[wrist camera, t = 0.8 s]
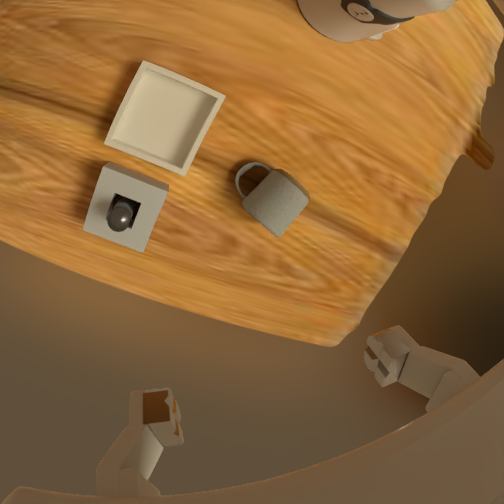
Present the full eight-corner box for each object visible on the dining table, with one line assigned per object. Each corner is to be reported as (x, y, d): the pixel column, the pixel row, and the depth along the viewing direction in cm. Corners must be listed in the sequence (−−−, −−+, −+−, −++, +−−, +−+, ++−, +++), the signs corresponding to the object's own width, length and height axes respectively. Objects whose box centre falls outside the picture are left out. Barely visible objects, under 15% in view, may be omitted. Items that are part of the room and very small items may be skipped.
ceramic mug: (302, 190, 49) (321, 204, 42) (269, 226, 50) (283, 245, 44) (256, 147, 44) (270, 154, 37) (220, 187, 46) (228, 201, 39)
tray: (145, 63, 34) (143, 60, 32) (223, 97, 39) (226, 96, 37) (108, 141, 38) (103, 143, 35) (184, 172, 43) (184, 176, 40)
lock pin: (121, 190, 42) (111, 206, 35) (139, 197, 43) (132, 215, 36) (115, 208, 43) (104, 227, 36) (132, 214, 44) (125, 235, 37)
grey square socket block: (109, 161, 39) (103, 166, 36) (168, 185, 43) (168, 192, 40) (89, 220, 42) (82, 229, 39) (145, 241, 46) (143, 252, 43)
